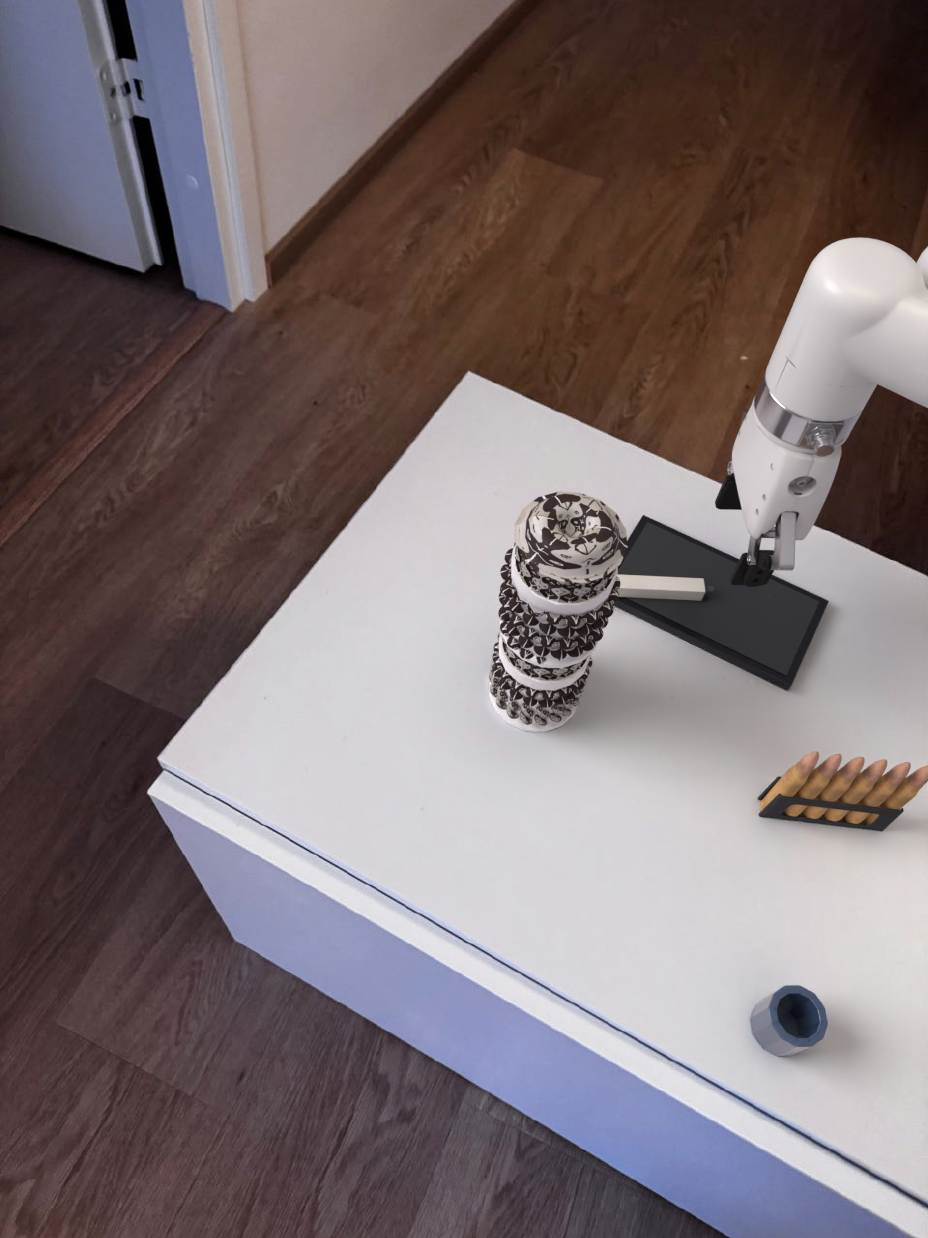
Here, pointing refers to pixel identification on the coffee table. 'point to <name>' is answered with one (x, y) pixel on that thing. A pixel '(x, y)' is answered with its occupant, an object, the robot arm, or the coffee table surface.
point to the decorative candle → (554, 607)
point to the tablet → (722, 605)
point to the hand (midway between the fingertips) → (739, 543)
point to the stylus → (663, 587)
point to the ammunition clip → (842, 792)
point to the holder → (789, 1021)
